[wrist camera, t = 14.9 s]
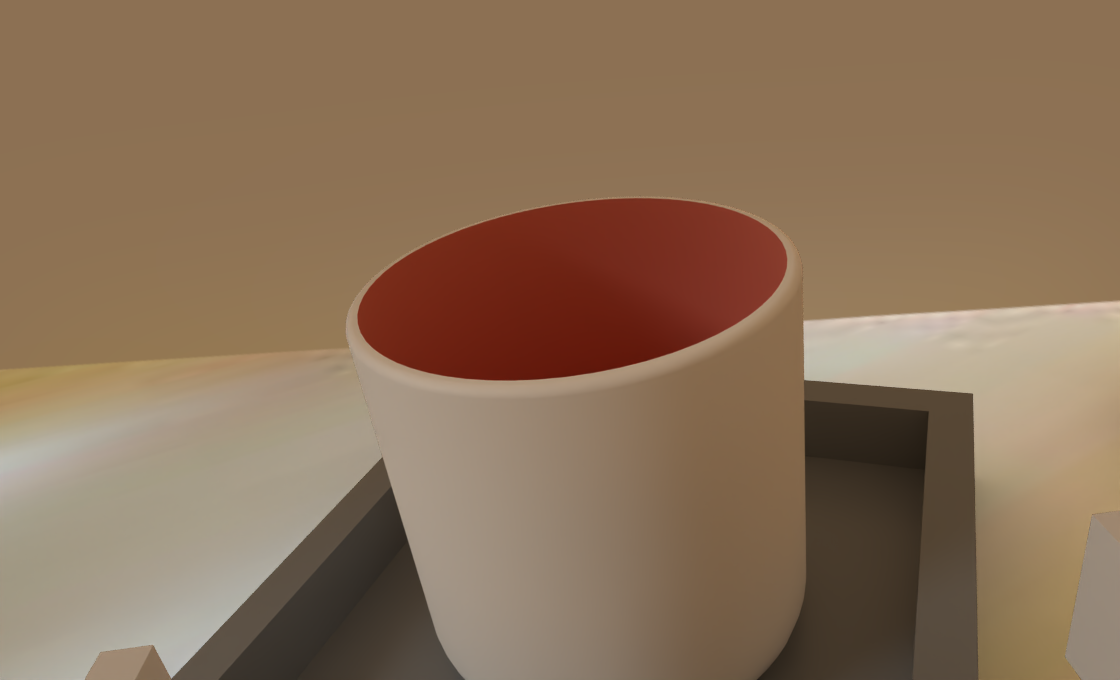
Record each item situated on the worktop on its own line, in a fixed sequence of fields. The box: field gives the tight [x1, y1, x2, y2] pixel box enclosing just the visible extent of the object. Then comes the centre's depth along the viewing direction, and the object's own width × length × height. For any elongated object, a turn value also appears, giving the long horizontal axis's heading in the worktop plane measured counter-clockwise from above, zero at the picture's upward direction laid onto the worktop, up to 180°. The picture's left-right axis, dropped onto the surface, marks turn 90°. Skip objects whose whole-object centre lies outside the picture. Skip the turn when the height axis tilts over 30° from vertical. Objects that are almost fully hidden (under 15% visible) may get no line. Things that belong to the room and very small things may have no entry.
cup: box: [346, 197, 806, 680], centre depth 20 cm, size 10×10×10 cm
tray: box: [171, 380, 978, 680], centre depth 22 cm, size 17×17×3 cm
